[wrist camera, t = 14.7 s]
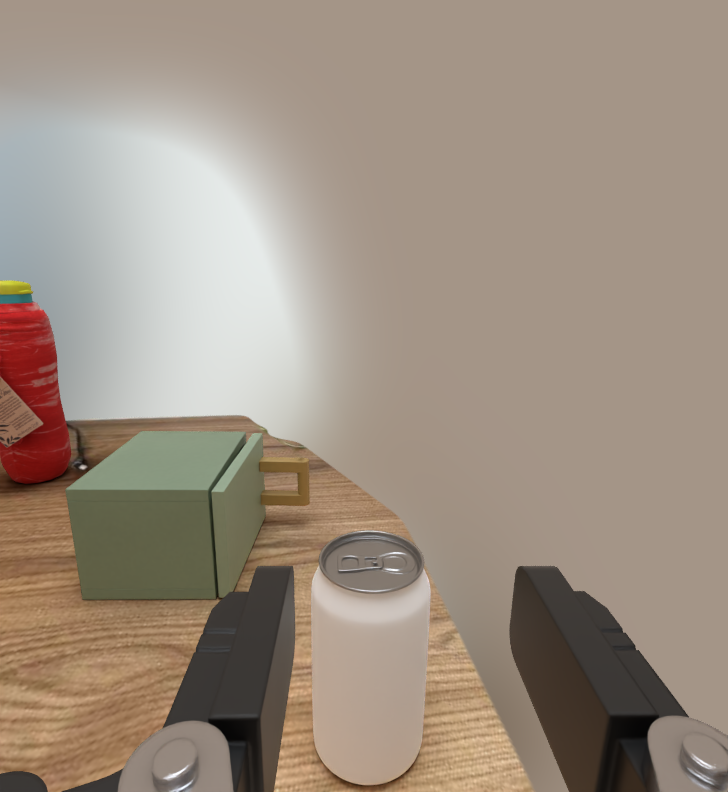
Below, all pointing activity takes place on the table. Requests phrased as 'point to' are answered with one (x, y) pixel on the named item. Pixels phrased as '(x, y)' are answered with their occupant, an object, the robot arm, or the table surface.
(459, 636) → the table surface
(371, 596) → the can
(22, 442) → the water bottle
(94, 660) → the table surface
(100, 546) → the cabinet
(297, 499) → the cabinet door
